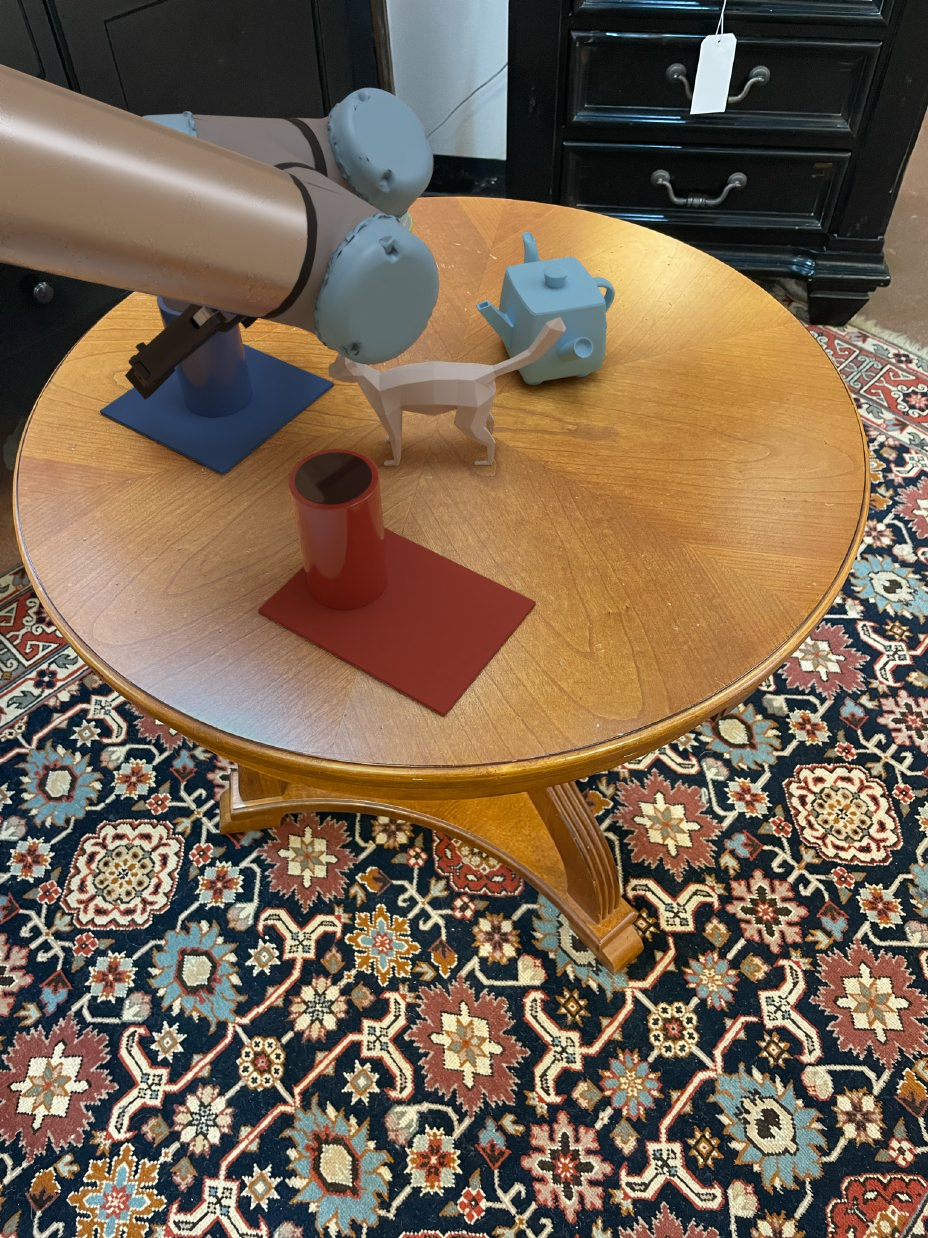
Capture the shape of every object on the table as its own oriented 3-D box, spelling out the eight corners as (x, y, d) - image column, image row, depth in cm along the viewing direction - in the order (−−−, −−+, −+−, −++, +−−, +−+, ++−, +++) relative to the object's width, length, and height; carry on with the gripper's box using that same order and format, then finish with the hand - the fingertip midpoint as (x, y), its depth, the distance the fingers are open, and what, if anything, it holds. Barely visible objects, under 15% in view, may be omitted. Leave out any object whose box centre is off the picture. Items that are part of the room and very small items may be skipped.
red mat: (258, 612, 76) (257, 609, 76) (358, 517, 83) (357, 514, 83) (444, 717, 70) (444, 714, 69) (536, 604, 77) (536, 601, 76)
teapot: (638, 401, 93) (654, 310, 86) (501, 426, 91) (505, 334, 83) (575, 303, 104) (584, 214, 97) (451, 323, 102) (450, 233, 94)
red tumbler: (290, 587, 77) (268, 485, 69) (341, 539, 81) (326, 436, 72) (354, 622, 75) (340, 521, 66) (404, 571, 78) (397, 469, 70)
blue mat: (100, 413, 92) (99, 410, 92) (215, 334, 101) (214, 330, 100) (223, 475, 86) (222, 472, 86) (334, 385, 95) (333, 382, 95)
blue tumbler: (170, 402, 93) (140, 300, 84) (217, 368, 96) (193, 266, 88) (220, 426, 90) (195, 323, 82) (267, 390, 94) (247, 288, 85)
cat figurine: (340, 437, 90) (323, 303, 79) (552, 434, 90) (565, 301, 79) (337, 469, 87) (319, 335, 76) (556, 466, 87) (569, 332, 76)
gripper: (209, 366, 68) (119, 452, 85) (413, 221, 82) (300, 320, 98) (137, 276, 66) (59, 382, 83) (359, 142, 79) (253, 257, 96)
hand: (190, 349), depth 91 cm, fingers open, 13 cm apart
